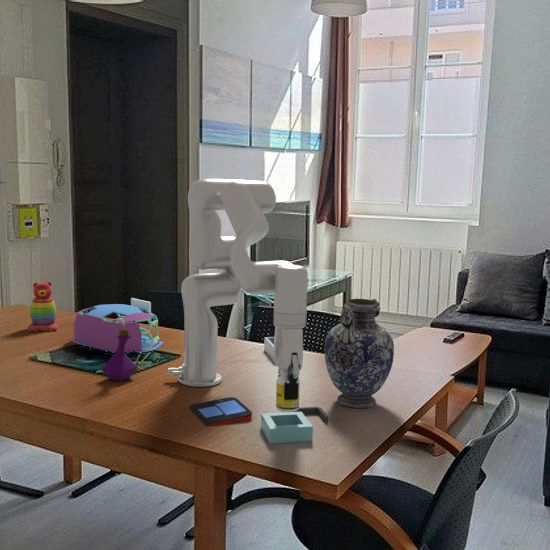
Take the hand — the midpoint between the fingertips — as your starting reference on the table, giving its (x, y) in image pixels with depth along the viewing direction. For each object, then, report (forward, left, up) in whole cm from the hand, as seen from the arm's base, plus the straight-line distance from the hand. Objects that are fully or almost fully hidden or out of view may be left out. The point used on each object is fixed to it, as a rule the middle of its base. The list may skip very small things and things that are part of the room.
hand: (287, 394), depth 158 cm
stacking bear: (-66, +117, -10) cm, 135 cm away
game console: (-13, +16, -10) cm, 23 cm away
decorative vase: (+24, +20, -10) cm, 33 cm away
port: (0, 0, -10) cm, 10 cm away
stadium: (-39, +92, -10) cm, 101 cm away
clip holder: (+15, +69, -10) cm, 71 cm away
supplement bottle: (0, 0, -4) cm, 4 cm away
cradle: (+8, +9, -10) cm, 16 cm away
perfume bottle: (-38, +49, -10) cm, 63 cm away
